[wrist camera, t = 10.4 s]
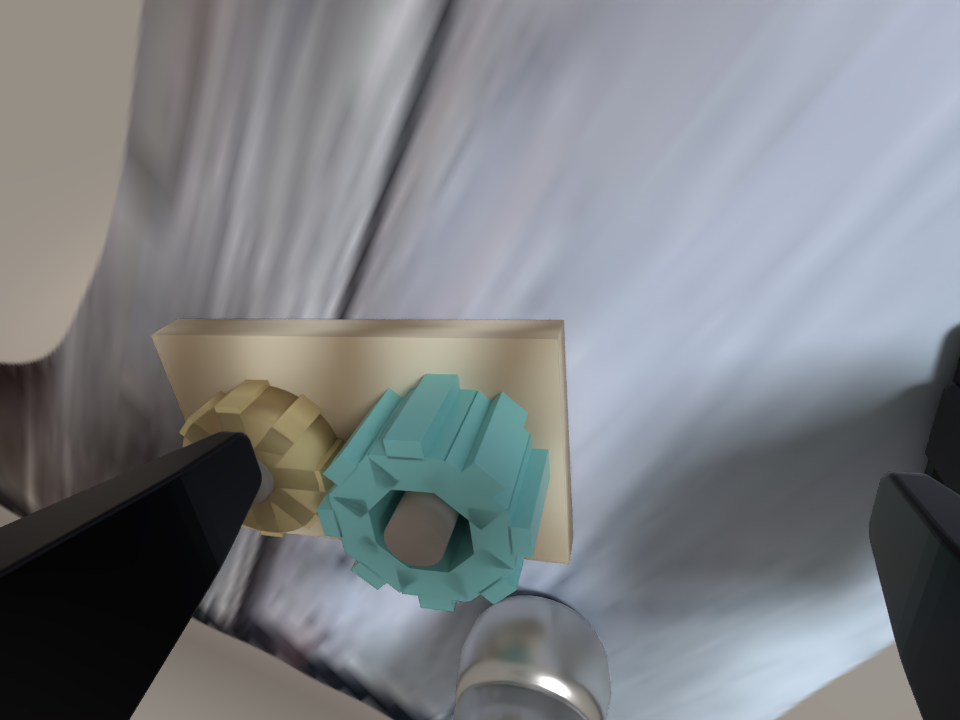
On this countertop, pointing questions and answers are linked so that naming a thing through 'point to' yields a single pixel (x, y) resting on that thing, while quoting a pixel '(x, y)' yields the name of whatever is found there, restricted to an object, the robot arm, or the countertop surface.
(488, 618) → the plastic bottle
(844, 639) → the countertop surface
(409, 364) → the gear board
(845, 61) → the countertop surface
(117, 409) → the countertop surface
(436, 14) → the countertop surface
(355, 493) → the teal gear
